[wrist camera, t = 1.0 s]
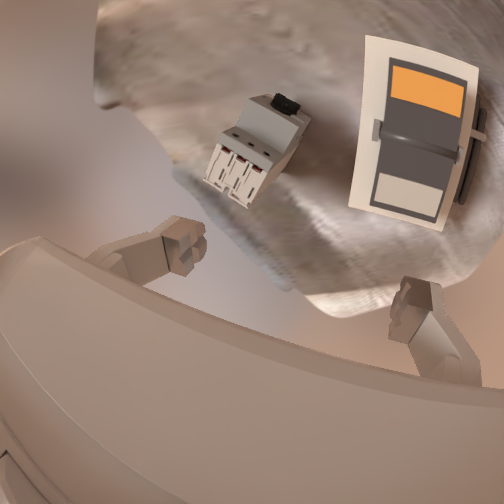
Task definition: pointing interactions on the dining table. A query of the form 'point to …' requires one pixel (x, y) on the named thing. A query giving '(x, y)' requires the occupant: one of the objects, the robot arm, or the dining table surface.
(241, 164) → the circuit breaker
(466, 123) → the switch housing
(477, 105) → the dark grey piece
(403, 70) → the block
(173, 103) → the dining table surface
